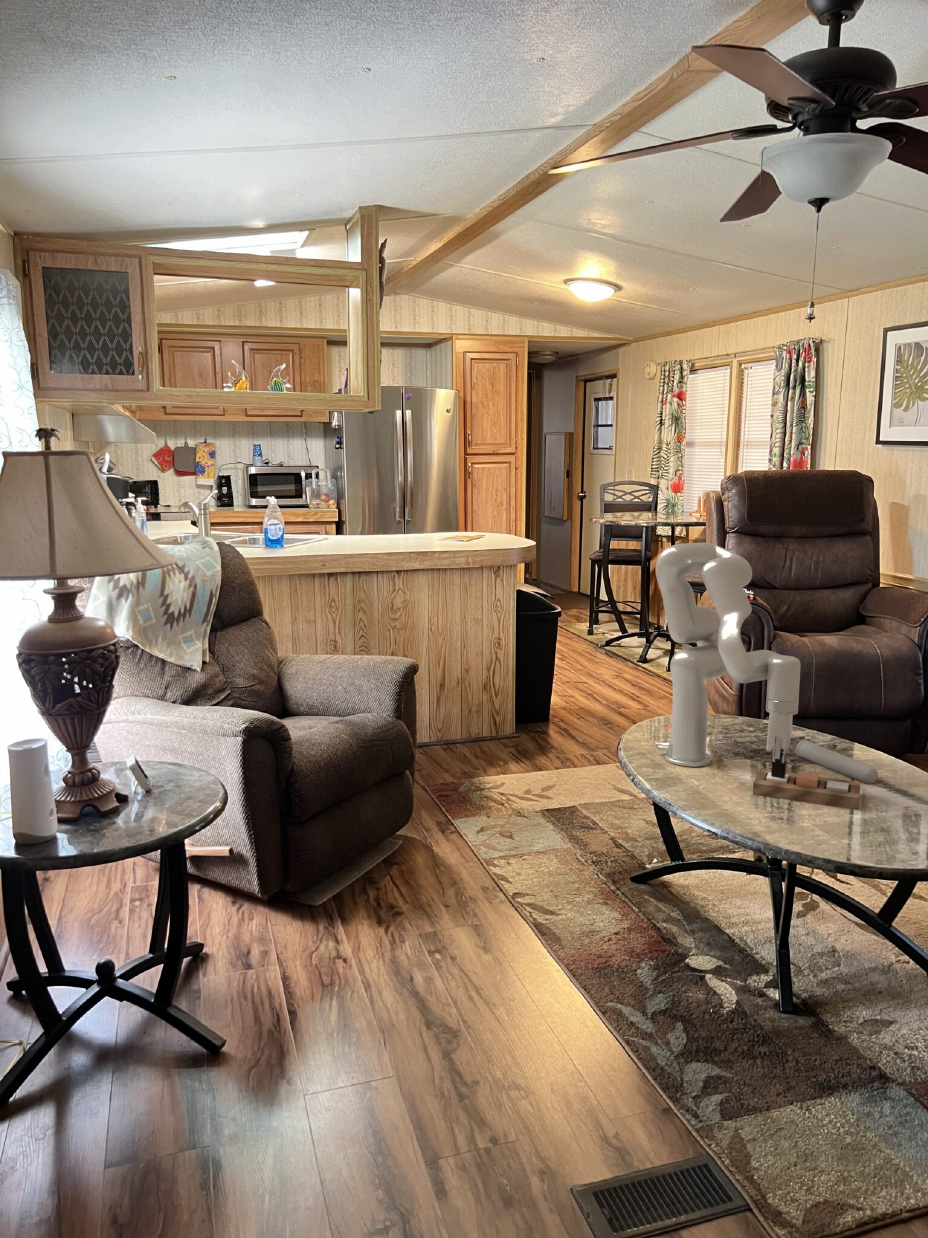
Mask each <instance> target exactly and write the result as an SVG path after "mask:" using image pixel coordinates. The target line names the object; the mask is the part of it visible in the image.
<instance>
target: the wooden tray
mask: <svg viewBox="0 0 928 1238" xmlns="http://www.w3.org/2000/svg"><path fill="white" fill-rule="evenodd" d="M769 772H771V769H766V768H759V770H758V772H757V774H756V776H755V779H754V780H753V783H752V785H753V786H752V795H754V796H761V797H767V798H768V797H769V798H774V799H782V800H788V801H794V802H795V801H796V802H801V803H809V804H815V805H821V806H829V807H834V808H835V807H836V808H842V809H850V810H857V811H858V810H859V806H860V805H859V804H860V803H859V802H860V795H861V794H860V793H861V783H862V782H861V781H857V780H847V779H839V778H833V777H827V776H826V777H825V776H818V787H817V788H814V787H807V786H800V785H796V777H797V773H798V772H791V771H789V772H788V771H786V772H785V774H786V775H789V776H788V784H786V783H779V782H772V781H766V777H767V775H768V773H769ZM828 780H829V781H837V782H844V783H849V786H848V792H843V791H836V790H829V789H826V786H827V782H828Z"/></svg>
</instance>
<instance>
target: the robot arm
mask: <svg viewBox="0 0 928 1238" xmlns="http://www.w3.org/2000/svg"><path fill="white" fill-rule="evenodd" d="M698 574H700V575H701V578H702V582H703V584H704V586H705V588H706V590H707V593H708V596H709V599H710V600H711V602H712V604H713V607H714V609H713V608H712V607H709V606H705V605H704V606H702V605H701V606H697V603H696V598H695V593H694V590H693V587H692V586H691V584H690V582H688V580H687V578H686V576H688V575H698ZM655 577H656V581H657V584H658V588H659V590H660V593H661V597H662V602H663V603H662V604H663V608H664V612H665V613H664V614H665V618H666V623H667V624H666V625H667V628H668V633H669V635H670V636H669V637H670V638H671V639H672V640H673V642H674V643H678V644H690V643H696V645H697V646H693V647H689V648H688V647H687V648H682V649H681V650H679V651H677V652H676V653H675V654H674V655H673V656H672V658H671V660H670V662H669V663H670V664H669V668H670V669H669V670H670V676H671V681H672V682H671V683H672V706H671V707H672V708H671V731H670V733H671V735H670V737H671V739H670V741H667V742H664V741H660V740H655V748H656V749H657V750H658V751H665V753H664V759H665V761H667V762H669V763H670V764H673V765H677V766H683V767H691V768H692V767H704V766H707V765H710V764H711V763H712V759H713V758H712V756H711V755H710V754H708V753H707V739H708V738H707V737H708V720H709V719H708V716H709V714H708V713H709V696H708V695H709V694H708V691H707V689H706V686H705V682H706V681H708V680H714V679H718V678H721V677H723V676H725V674H726V673H728V675H729V676H730V677H731V678H732V680H734V682H737V683H740V684H750V683H753V682H759V681H765V680H766V681H767V684H766V685H767V686H766V697H765V698H766V699H765V700H766V701H765V711H766V712H767V713H769V716H768V723H767V724H768V725H767V738H766V749H765V751H766V752H767V753H769V752H771V751H772V761H771V769H770V770H771V776H772V777H778V778H784V777H785V772H787V770H786V769H787V767H786V766H787V760H786V759H787V758H786V757H787V753H788V750H789V747H790V745H791V741H792V740H791V739H792V730H793V718H794V717H793V716H795V715H797V714H798V712H799V702H800V700H799V699H800V697H799V695H800V685H801V684H800V679H801V661H800V659H799V658H798V657H795V656H794V655H793V656H792V655H782V654H780V653H777V652H774V651H772V650H768V649H759V650H754V651H753V650H752V651H747V650H746V649H745V646H744V644H743V641H742V636H741V628H742V625H743V623H744V622H745V621H746V619H747V618H748V617H749V616H750V615H751V613H752V610H753V608H752V604H751V603H750V601H749V598H748V597H747V594H746V591H745V590H744V587H746V586H747V585H749V583H750V582H751V581H752V577H753V569H752V566H751V565H750V563H749V561H747V560H746V558H744V557H743V556H741V555H739V554H737V553H735V552H732V551H730V550H728V549H725V548H723V547H722V546H719V545H717V544H715V543H712V542H692V543H691V542H690V543H688V542H687V543H686V542H685V543H678V544H677V543H676V544H673V545H671V546H669V547H667V548H665V549H664V550H662V551H661V553H660V554H659V556H658V557H657V560H656V563H655Z"/></svg>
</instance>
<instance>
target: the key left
mask: <svg viewBox="0 0 928 1238" xmlns="http://www.w3.org/2000/svg"><path fill="white" fill-rule="evenodd" d="M788 776H789V775H786V774H785V777H784V778H778V777H772V776H771V772H769V773H768V775H767V777H766V781H772V782H779V783H786V784H788Z"/></svg>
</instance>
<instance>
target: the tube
mask: <svg viewBox="0 0 928 1238" xmlns="http://www.w3.org/2000/svg"><path fill="white" fill-rule="evenodd" d="M795 755H796V756H797V757H799V758H801V759H805V760H807V761H810V762H812V763H814V764H817V765H819V766H823V767H824V768H827V769H829V770H832V771H835V772H837V773H840V774H842V775H845V776H847V777H849V778H851V779H854V780H855V781H858V782H861V783H863V784H867V785H869V784H870V785H871V784H874V783H876V781H877V780H879V778H880V777H879V771H878V770H877V769H876V767H874V766H873V765H871V764H868V763H865V762H863V761H860V760H857V759H856V758H855V759H854V758H853V757H849V756H848V755H845V754H842V753H840V752H837V751H835V750H831V749H829V748H827V747H824V746H822V745H821V746H820V745H819V744H815V743H813V742H811V741H810V740H807V739H802V740H799V742H798V743H797V745H796V749H795Z"/></svg>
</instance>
